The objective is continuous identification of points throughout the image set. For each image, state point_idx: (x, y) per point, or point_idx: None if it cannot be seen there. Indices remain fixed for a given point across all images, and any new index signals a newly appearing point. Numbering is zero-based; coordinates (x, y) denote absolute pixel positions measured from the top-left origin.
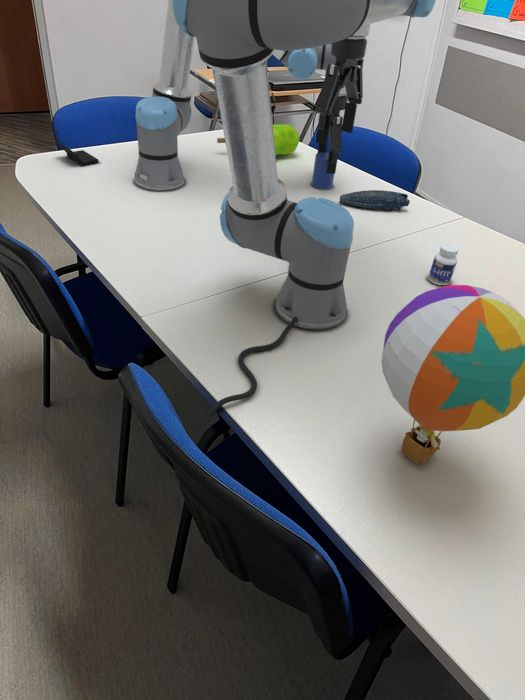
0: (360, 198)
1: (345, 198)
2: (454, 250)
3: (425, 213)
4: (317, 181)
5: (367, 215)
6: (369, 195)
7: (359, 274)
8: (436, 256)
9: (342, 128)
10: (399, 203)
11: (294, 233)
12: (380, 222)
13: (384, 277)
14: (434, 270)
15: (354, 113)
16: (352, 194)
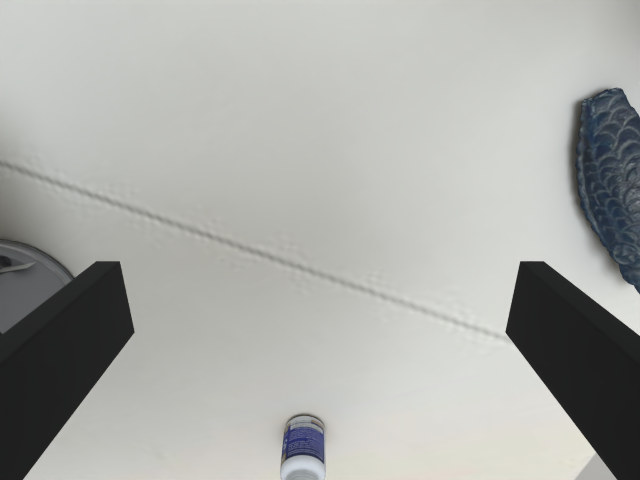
0: (602, 169)
1: (595, 117)
2: None
3: (636, 320)
4: None
5: (536, 208)
6: (626, 192)
7: (213, 317)
8: (289, 464)
9: (526, 276)
10: (624, 275)
11: None
12: (508, 253)
13: (241, 356)
14: (284, 444)
15: (595, 447)
16: (622, 133)
